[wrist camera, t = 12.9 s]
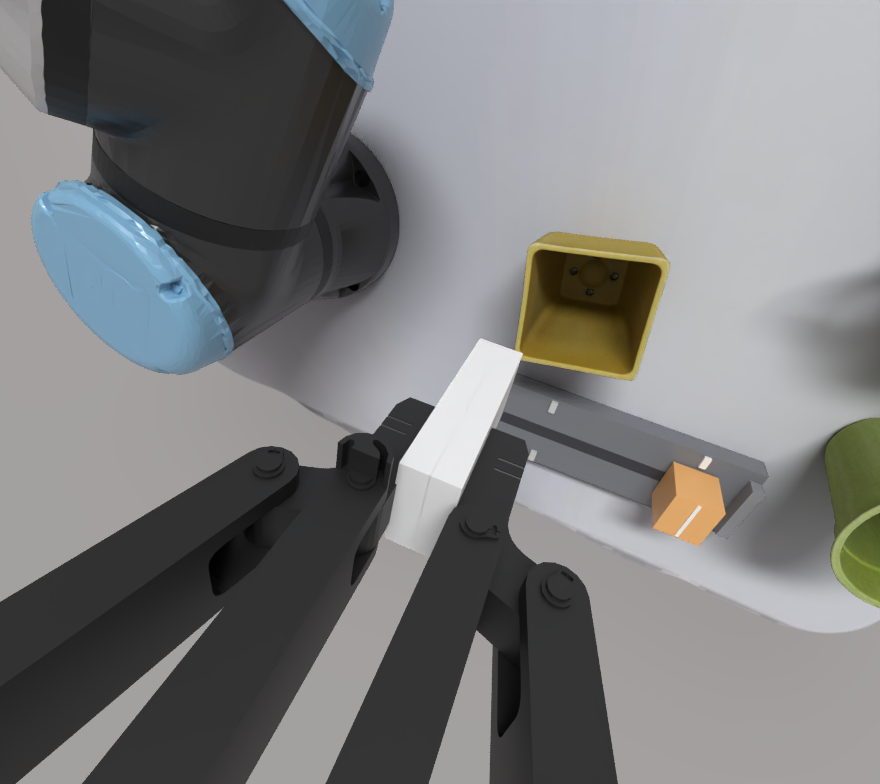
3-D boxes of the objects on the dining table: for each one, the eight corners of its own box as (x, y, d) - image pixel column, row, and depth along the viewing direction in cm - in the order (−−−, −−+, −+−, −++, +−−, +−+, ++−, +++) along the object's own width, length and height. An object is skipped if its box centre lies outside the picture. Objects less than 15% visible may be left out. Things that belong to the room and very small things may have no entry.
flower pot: (636, 331, 40) (634, 384, 33) (534, 314, 42) (512, 360, 35) (666, 225, 35) (673, 259, 28) (549, 212, 38) (528, 241, 30)
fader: (651, 493, 45) (652, 528, 42) (673, 461, 43) (676, 496, 39) (693, 509, 45) (698, 547, 41) (718, 478, 42) (725, 515, 38)
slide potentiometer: (472, 424, 51) (462, 443, 48) (491, 364, 47) (481, 381, 44) (716, 518, 47) (720, 545, 44) (763, 462, 42) (772, 488, 39)
